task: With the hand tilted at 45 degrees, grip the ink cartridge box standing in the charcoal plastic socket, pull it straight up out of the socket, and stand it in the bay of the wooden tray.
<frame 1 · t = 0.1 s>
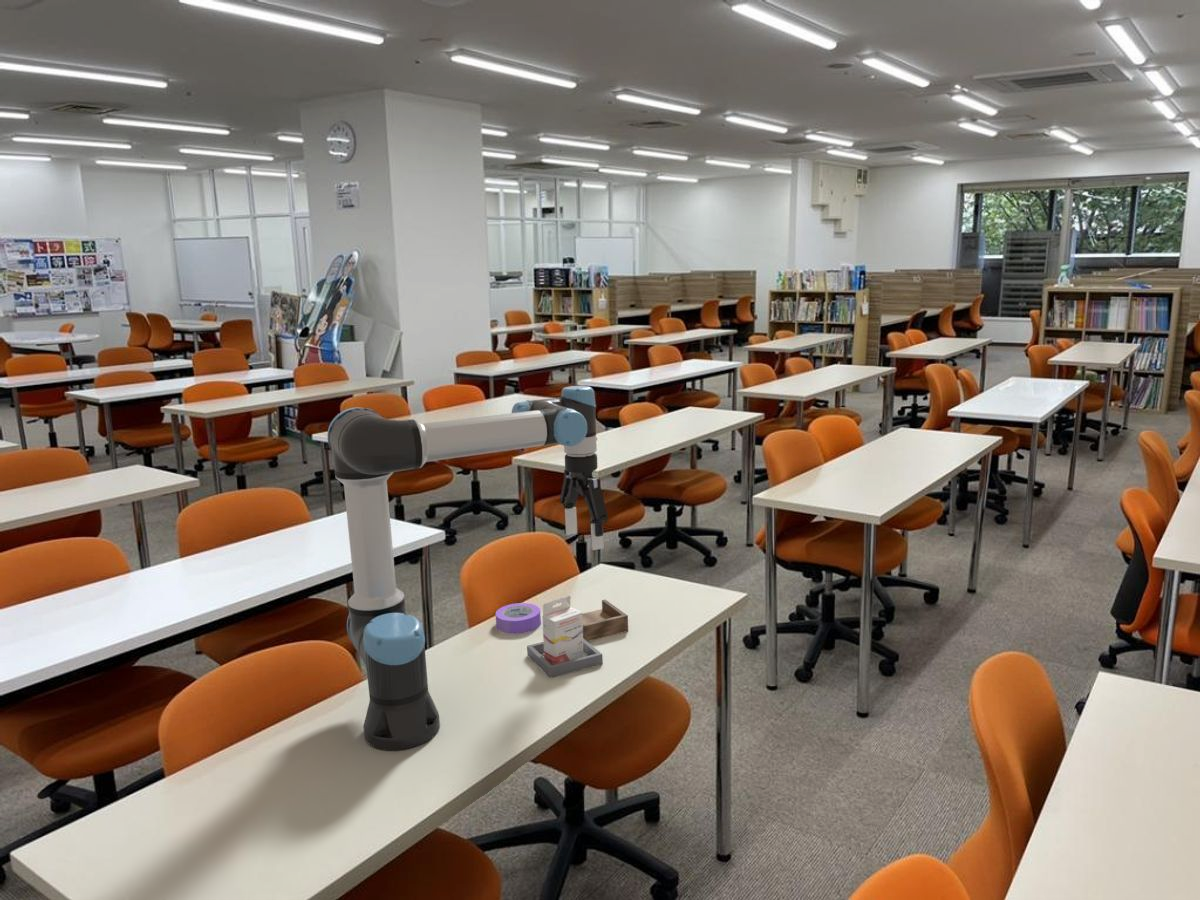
hand: (584, 541, 204), 28 cm above the table, tool pointing down, fingers open, 13 cm apart
masking tape: (518, 625, 227), on the table
ink cartridge box: (564, 660, 206), resting in socket
socket: (564, 659, 206), on the table
wooden tray: (592, 627, 223), on the table
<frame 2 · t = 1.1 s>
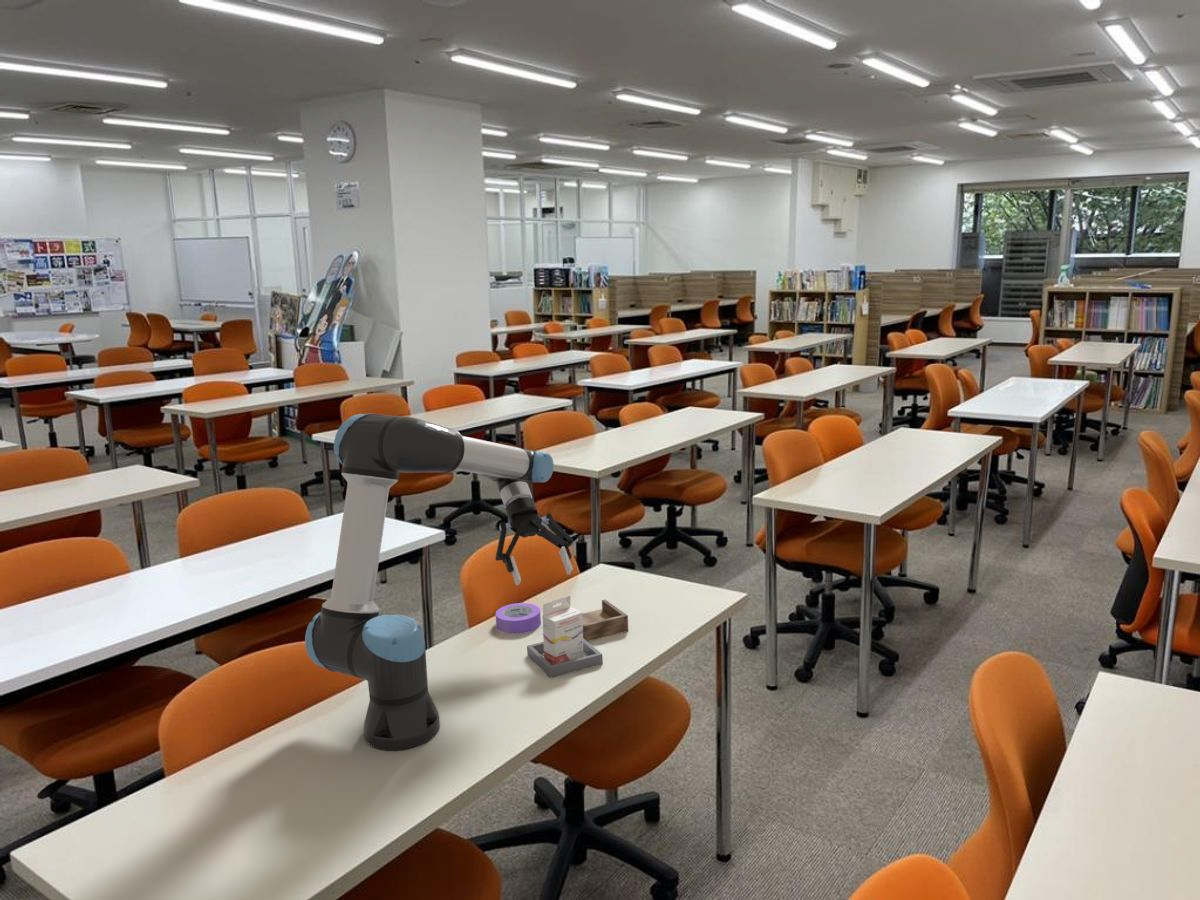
hand: (544, 577, 211), 17 cm above the table, tool tilted 45°, fingers open, 13 cm apart
nothing on the table moved.
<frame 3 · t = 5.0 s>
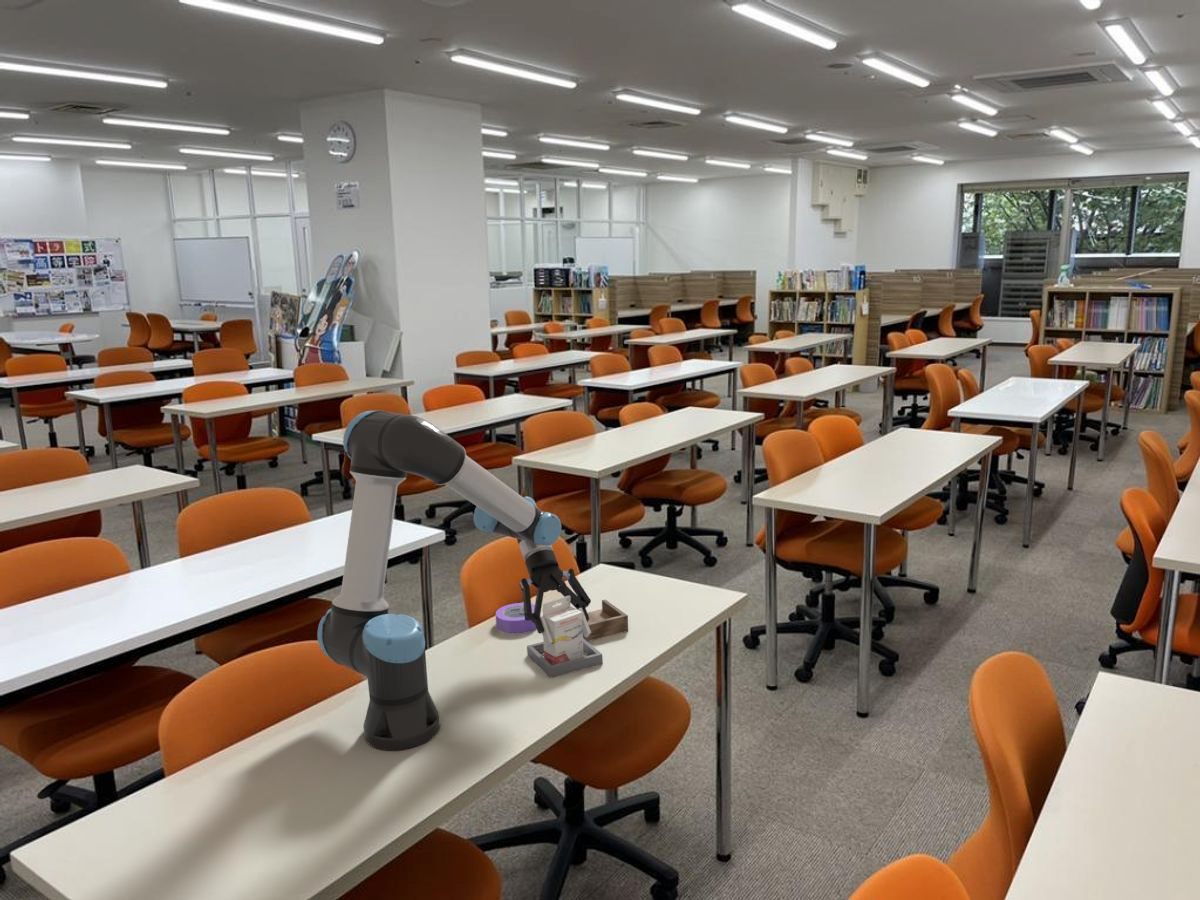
hand: (569, 639, 201), 6 cm above the table, tool tilted 45°, fingers closed on ink cartridge box, 9 cm apart
ink cartridge box: (564, 660, 206), resting in socket, touching gripper
everything else where it was.
when the fingers open (9 cm above the table, at t = 13.0 s): ink cartridge box drops 1 cm, resting on wooden tray.
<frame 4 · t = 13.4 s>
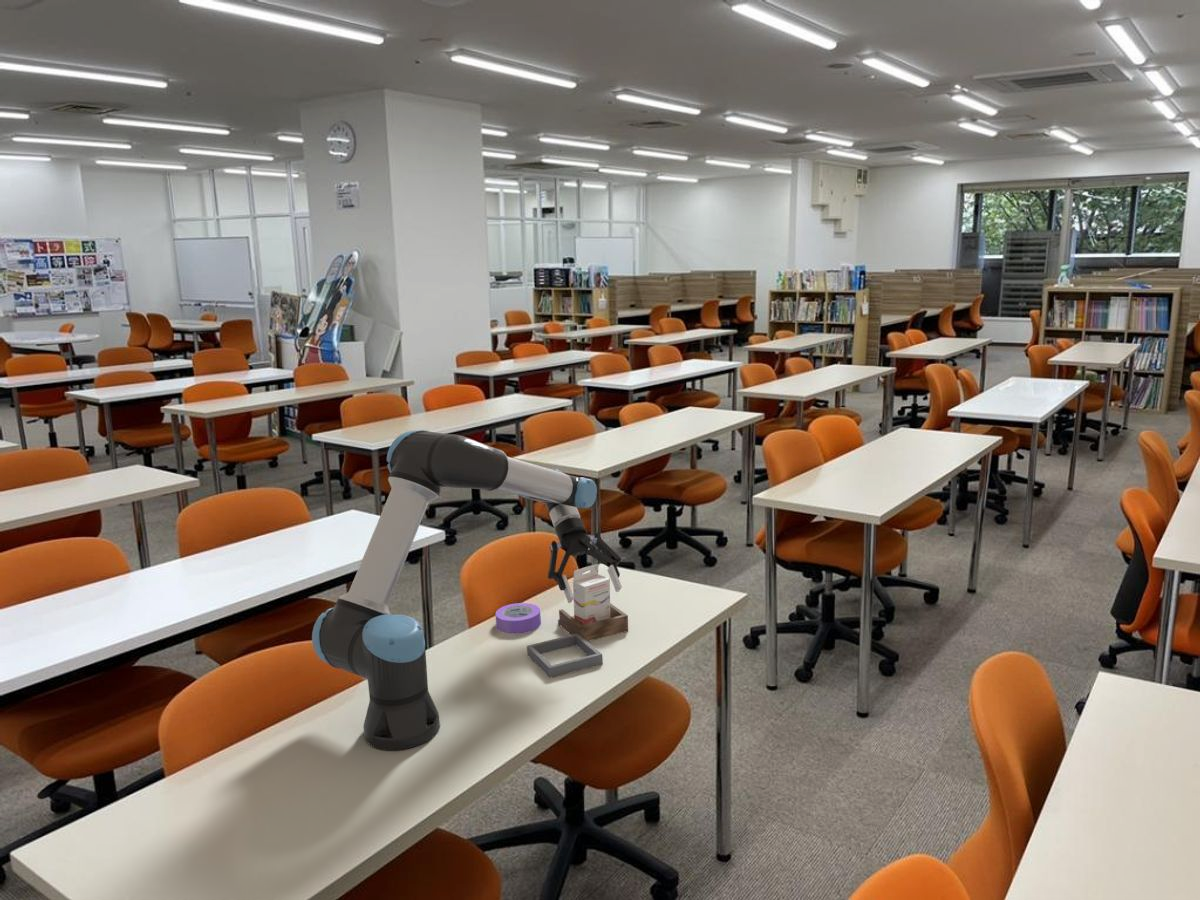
hand: (595, 595, 219), 10 cm above the table, tool tilted 45°, fingers open, 13 cm apart
ink cartridge box: (593, 623, 223), point 1 cm above the table, touching wooden tray
everything else where it was.
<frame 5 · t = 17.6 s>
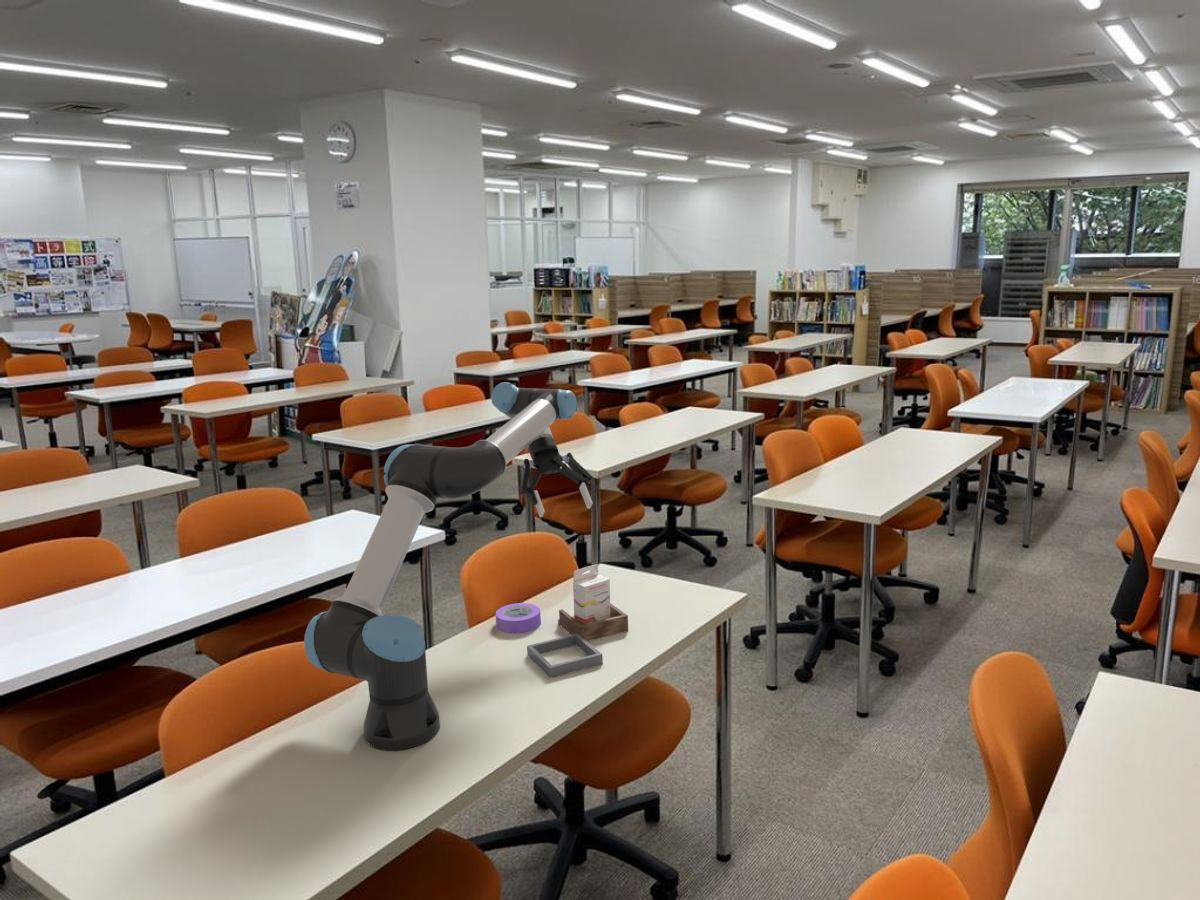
hand: (566, 510, 223), 30 cm above the table, tool tilted 45°, fingers open, 13 cm apart
nothing on the table moved.
at the end: ink cartridge box 0.1 cm off-centre on the wooden tray, point 1.0 cm above the wooden tray's base; ink cartridge box tilted 0°; the gripper is holding nothing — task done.
